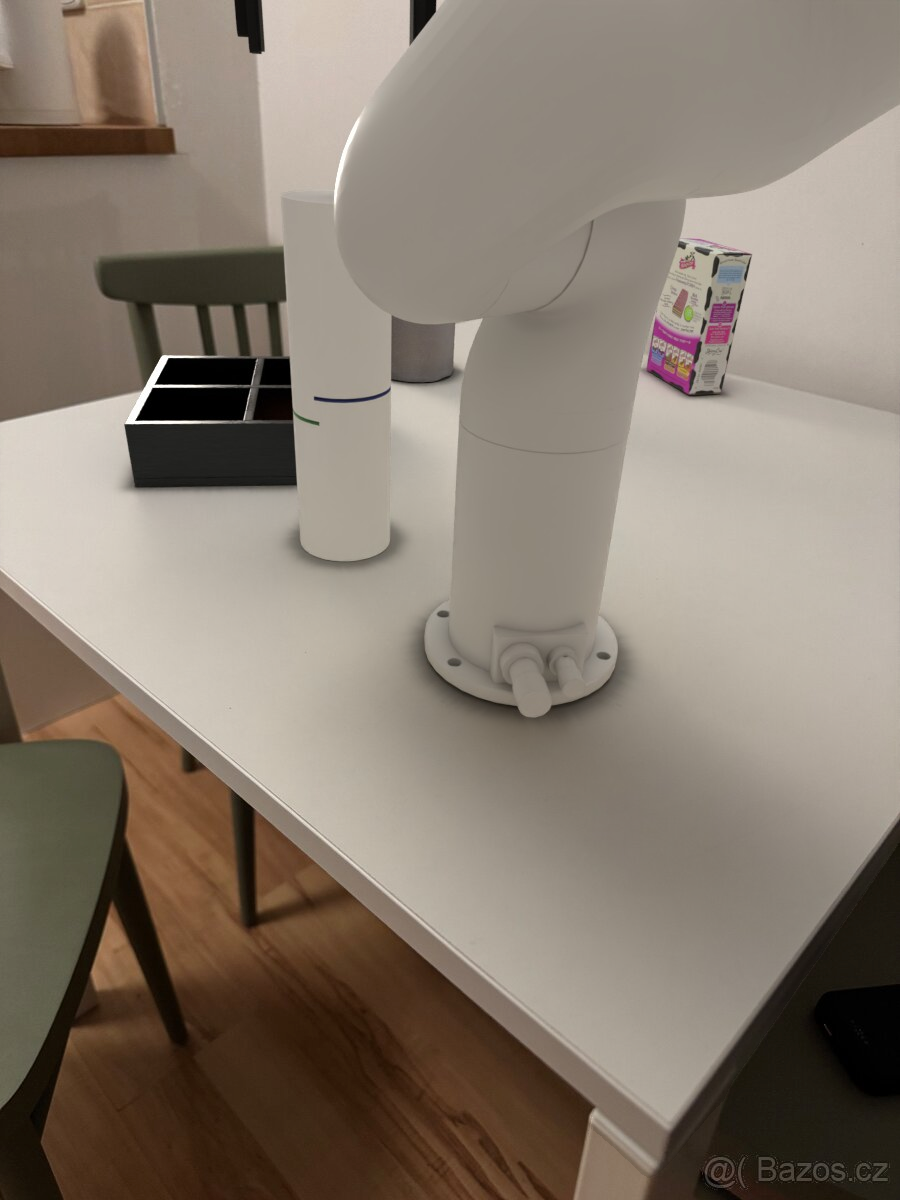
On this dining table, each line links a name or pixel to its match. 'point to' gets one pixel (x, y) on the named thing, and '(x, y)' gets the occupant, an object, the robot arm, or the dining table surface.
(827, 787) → the dining table surface
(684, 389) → the candy bar box
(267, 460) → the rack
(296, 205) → the cylindrical container
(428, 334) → the pillar candle
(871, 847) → the dining table surface
